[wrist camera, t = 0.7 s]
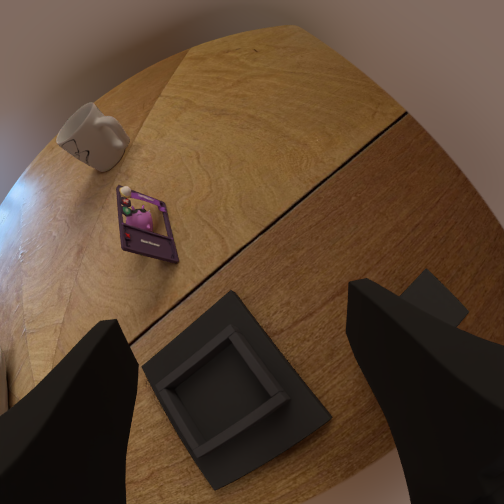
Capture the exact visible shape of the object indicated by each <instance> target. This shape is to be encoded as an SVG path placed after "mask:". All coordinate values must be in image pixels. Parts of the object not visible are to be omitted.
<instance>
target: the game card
mask: <svg viewBox="0 0 504 504" xmlns="http://www.w3.org/2000/svg"><path fill="white" fill-rule="evenodd" d="M116 192H117V206H118V219H119V230H120V239H121V248H122V250H124V251H128V252H132V253H135V254H139V255H143V256H147V257H151V258H155V259H159V260H163V261H167V262H172V263H177V262H178V261H179V258H178V255H177V251H176V247H175V243H174V239H173V235H172V231H171V227H170V222H169V218H168V214H167V210H166V205H165V203H164V202H162V201H160V200H157V199H155V198H152V197H149V196H147V195H144V194H141V193H139V192H136V191H134V190H131V189H130V188H129V187H127V186H124V187H123V186H120V185H118V186H117V188H116ZM120 193H121V194H120ZM121 195H122V196H124V197H121ZM127 198H135V199H140V200H143V201H146V202H149V203H152V204H155V205H157V206H158V208H159V210H160V211H162V212H163V217H164V221H165V226H166V230H167V234H168V237H167V236H163V235H160V234H157V233H154V232H152V229H153V223H152V217H151V213H149V212H150V210H149V211H148V212H147V211H146V210H145V209H144V205H142V208H141V209H134V207H133V206H132V207H131V201H130V200H129V199H127ZM121 204H122V205H124V206H121ZM128 207H131V208H132V210H131V209H130V208H128ZM122 214H124V215H125V216H126V217H127V219H126V224H125V223H123V217H122Z"/></svg>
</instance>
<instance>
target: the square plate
mask: <svg viewBox="0 0 504 504" xmlns="http://www.w3.org/2000/svg"><path fill="white" fill-rule="evenodd" d="M6 411H8V388H7V380H6V361H5V356H4V353H3V351H2V350H1V347H0V416H1V415H2V414H3V413H5V412H6Z"/></svg>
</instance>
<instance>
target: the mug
mask: <svg viewBox="0 0 504 504" xmlns="http://www.w3.org/2000/svg"><path fill="white" fill-rule="evenodd" d="M56 142H57V144H58V145H59V146H60V147H62V148H63V149H64V150H66V151H67V152H69V153H70V154H71V155H73V156H74V157H76V158H77V159H79V160H80V161H82V162H84V163H85V164H87V165H89V166H91V167H93V168H95V169H96V170H98V171H101V172H105V171H108V170H109V169H111V168H112V167H114V166H115V165H116V164H117V163H118V161H119V160H120V159H121V157H122V155H123V153H124V150H125V148H126V147H127V146H128V144H129V142H130V138H129V136H128V135H127V134H126V132H125V131H124V129H123V128H122V126H121V125H120V123H119V122H118V121H117V120H116V119H115V118H113V117H111V116H104V115H103V114H102V112H101V111H100V110H99V109H98V108H97V106H96V105H95V104H94V103H91V102H90V103H87V104H85V105H84V106H82V107H81V108H79V109H78V110H77V111H76V112H75V113H74V114H73V115H72V116H71V117H70V118H69V119H68V121H67V122H66V123H65V124H64V126H63V127H62V129H61V130H60V132H59V134H58V136H57V140H56Z"/></svg>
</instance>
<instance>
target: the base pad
mask: <svg viewBox="0 0 504 504" xmlns="http://www.w3.org/2000/svg"><path fill="white" fill-rule="evenodd" d="M142 369H143V371H144V373H145V375H146V377H147V379H148V381H149V383H150V385H151V387H152V389H153V391H154V392H155V394H156V396H157V398H158V400H159V402H160V404H161V406H162V407H163V409H164V411H165V413H166V415H167V416H168V418H169V420H170V422H171V424H172V425H173V427H174V429H175V430H176V432H177V434H178V435H179V437H180V439H181V440H182V442H183V444H184V445H185V447H186V449H187V450H188V452H189V453H190V455H191V457H192V458H193V460H194V461H195V463H196V464H197V466H198V467H199V469H200V470H201V472H202V473H203V475H204V476H205V478H206V479H207V481H208V482H209V483H210V485H211V486H212V488H213V489H214V490H217V489H219V488H221V487H223V486H225V485H227V484H229V483H231V482H233V481H235V480H237V479H239V478H241V477H242V476H244V475H246V474H248V473H250V472H251V471H253V470H255V469H257V468H258V467H260V466H262V465H263V464H265V463H267V462H268V461H270V460H272V459H273V458H275V457H277V456H278V455H280V454H281V453H283V452H284V451H286V450H288V449H289V448H291V447H292V446H294V445H295V444H297V443H298V442H300V441H301V440H303V439H304V438H306V437H307V436H308V435H310V434H311V433H313V432H314V431H316V430H317V429H318V428H320V427H321V426H322V425H324V424H325V423H327V422H328V421H329V420H331V419H332V418H333V417H332V416H331V414H330V413H329V412H328V411H327V410H326V408H325V407H324V406H323V405H322V403H321V402H320V401H319V400H318V399H317V397H316V396H315V395H314V394H313V392H312V391H311V390H310V389H309V387H308V386H307V385H306V384H305V382H304V381H303V380H302V379H301V377H300V376H299V375H298V374H297V372H296V371H295V370H294V369H293V367H292V366H291V365H290V363H289V362H288V361H287V360H286V358H285V357H284V356H283V354H282V353H281V352H280V351H279V349H278V348H277V347H276V345H275V344H274V343H273V342H272V340H271V339H270V338H269V336H268V335H267V334H266V333H265V331H264V330H263V329H262V327H261V326H260V325H259V323H258V322H257V321H256V319H255V318H254V317H253V315H252V314H251V313H250V311H249V310H248V309H247V307H246V306H245V305H244V304H243V302H242V301H241V300H240V298H239V297H238V295H237V294H236V293H235V292H233V291H232V290H230V291H229V292H228V293H227V294H226V295H225V296H223V297H222V298H221V299H220V300H219V301H218V302H216V303H215V304H214V305H213V306H212V307H211V308H210V309H208V310H207V311H206V312H205V313H204V314H203V315H201V316H200V317H199V318H198V319H197V320H196V321H194V322H193V323H192V324H191V325H190V326H189V327H187V328H186V329H185V330H184V331H183V332H182V333H180V334H179V335H178V336H177V337H176V338H175V339H173V340H172V341H171V342H170V343H169V344H168V345H166V346H165V347H164V348H163V349H162V350H161V351H159V352H158V353H157V354H156V355H155V356H153V357H152V358H151V359H150V360H149V361H148V362H146V363H145V364H144V365H143V366H142Z"/></svg>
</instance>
